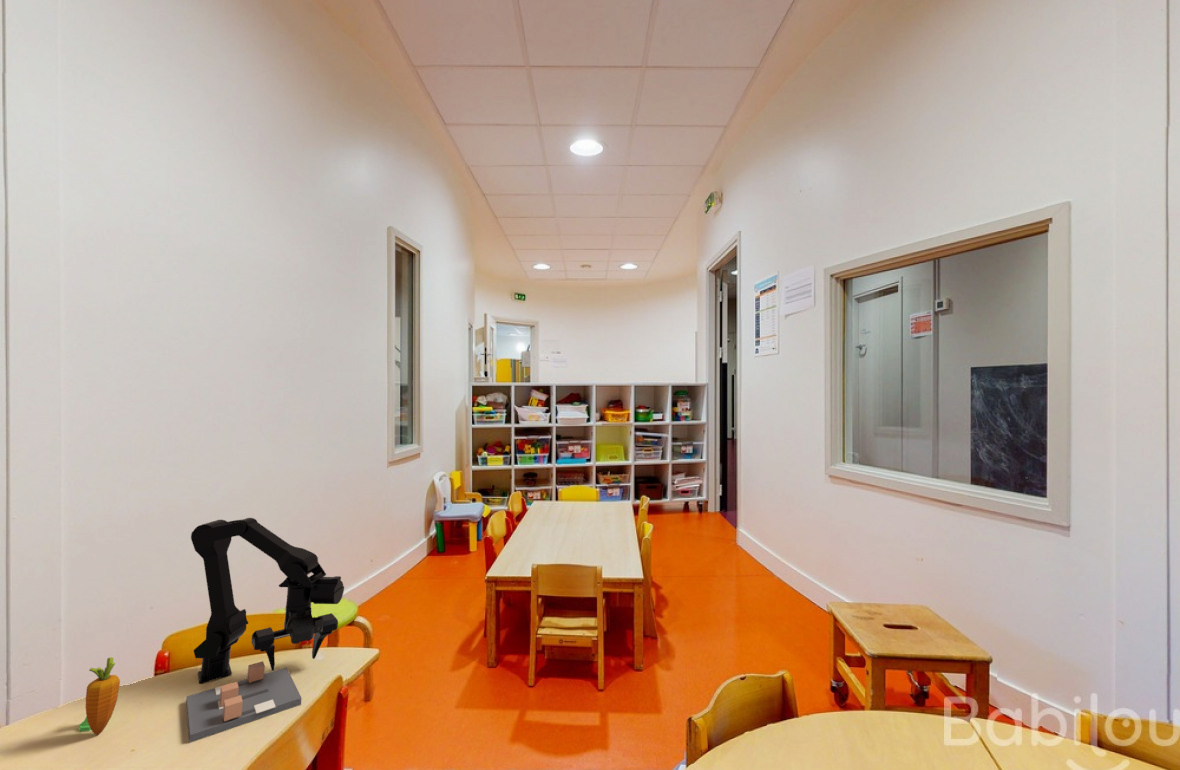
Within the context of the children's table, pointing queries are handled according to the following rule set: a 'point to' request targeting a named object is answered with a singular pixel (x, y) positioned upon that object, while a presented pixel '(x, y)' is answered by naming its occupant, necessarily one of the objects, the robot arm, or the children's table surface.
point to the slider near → (232, 708)
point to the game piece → (84, 725)
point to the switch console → (257, 703)
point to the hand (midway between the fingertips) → (293, 664)
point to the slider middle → (228, 692)
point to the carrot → (101, 697)
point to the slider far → (256, 671)
